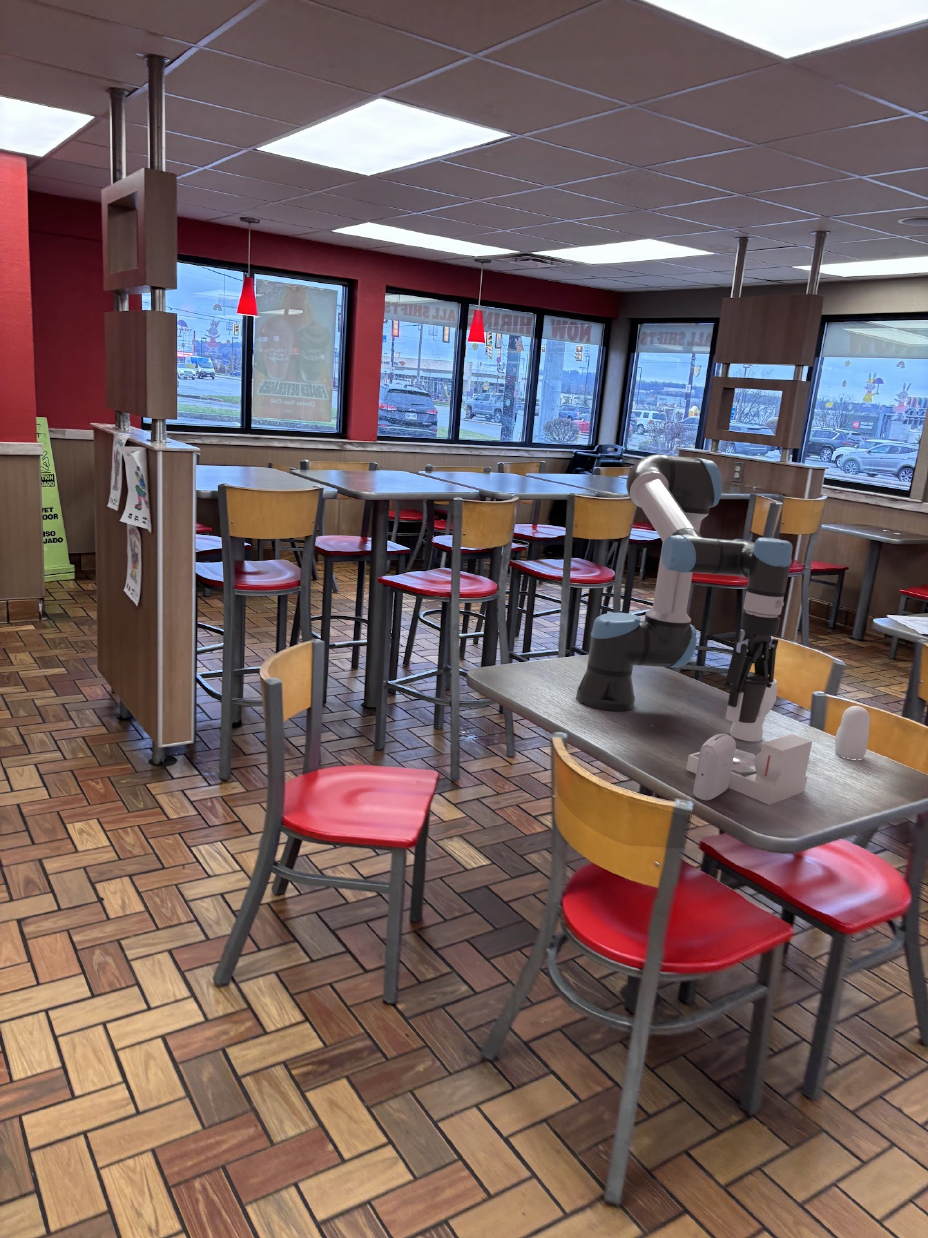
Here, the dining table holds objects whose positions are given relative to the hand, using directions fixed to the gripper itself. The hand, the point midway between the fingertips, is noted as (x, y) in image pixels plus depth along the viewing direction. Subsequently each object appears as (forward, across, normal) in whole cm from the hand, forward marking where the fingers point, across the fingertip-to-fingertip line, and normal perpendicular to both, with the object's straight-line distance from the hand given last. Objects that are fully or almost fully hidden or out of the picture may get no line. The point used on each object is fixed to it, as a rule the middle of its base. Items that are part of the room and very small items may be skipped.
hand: (743, 717), depth 192 cm
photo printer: (+13, -13, -3) cm, 19 cm away
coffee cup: (0, 0, 0) cm, 0 cm away
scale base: (+13, 0, -3) cm, 13 cm away
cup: (+13, +27, +13) cm, 32 cm away
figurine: (+13, +40, -7) cm, 42 cm away
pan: (+12, 0, 0) cm, 12 cm away
